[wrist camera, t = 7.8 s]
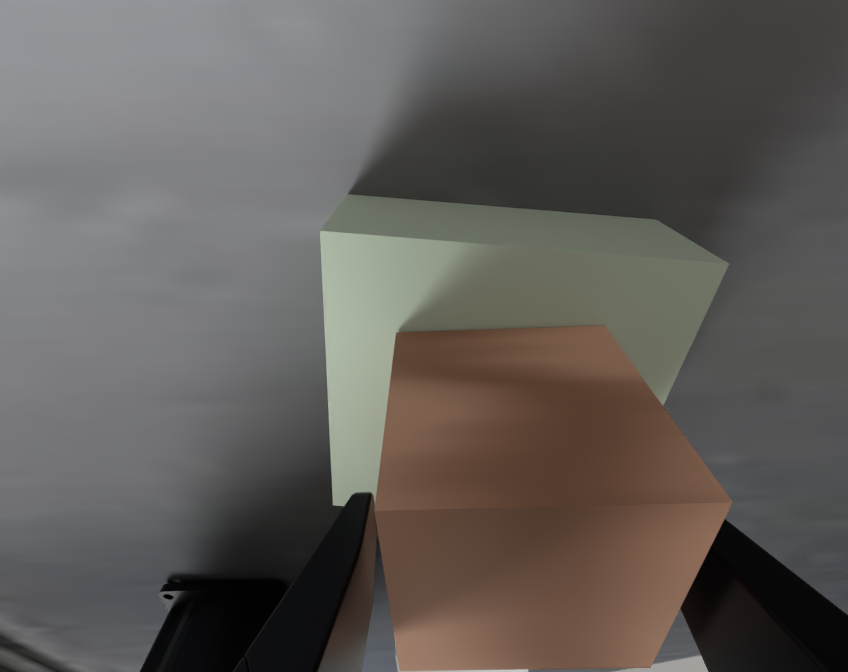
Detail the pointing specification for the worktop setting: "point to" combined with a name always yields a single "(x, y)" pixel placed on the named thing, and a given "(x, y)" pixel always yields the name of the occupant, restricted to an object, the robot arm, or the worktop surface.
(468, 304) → the sage base block
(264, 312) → the worktop surface
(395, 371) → the terracotta cube
